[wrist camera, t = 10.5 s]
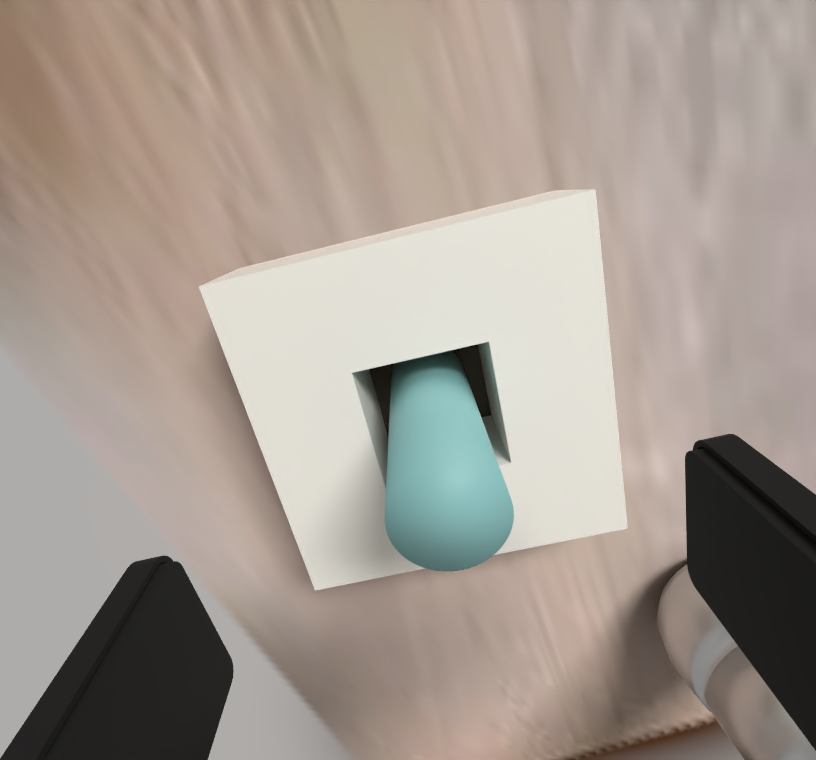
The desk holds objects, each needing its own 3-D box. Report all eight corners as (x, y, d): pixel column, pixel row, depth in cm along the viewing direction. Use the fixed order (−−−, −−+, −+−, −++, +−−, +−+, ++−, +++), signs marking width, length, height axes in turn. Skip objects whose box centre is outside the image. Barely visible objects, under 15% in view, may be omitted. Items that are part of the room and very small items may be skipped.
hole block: (239, 268, 19) (198, 286, 15) (554, 190, 18) (595, 189, 14) (329, 525, 23) (315, 590, 19) (588, 471, 22) (627, 528, 18)
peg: (383, 352, 20) (369, 478, 11) (456, 335, 20) (502, 450, 11) (400, 418, 21) (401, 581, 12) (470, 402, 21) (522, 557, 12)
